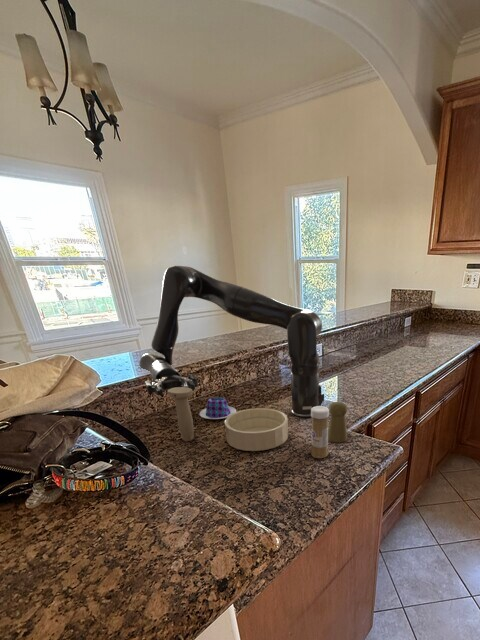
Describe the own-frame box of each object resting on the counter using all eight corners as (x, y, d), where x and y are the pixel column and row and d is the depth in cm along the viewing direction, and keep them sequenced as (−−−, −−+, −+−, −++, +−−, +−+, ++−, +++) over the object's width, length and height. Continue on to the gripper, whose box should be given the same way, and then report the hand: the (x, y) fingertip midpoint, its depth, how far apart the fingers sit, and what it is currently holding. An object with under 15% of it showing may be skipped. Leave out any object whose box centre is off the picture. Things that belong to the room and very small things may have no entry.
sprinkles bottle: (307, 455, 94) (307, 408, 89) (318, 449, 98) (319, 404, 92) (320, 461, 92) (320, 413, 86) (331, 454, 95) (332, 408, 89)
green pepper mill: (349, 435, 106) (351, 400, 101) (344, 443, 101) (345, 408, 96) (330, 432, 108) (331, 398, 103) (324, 440, 102) (324, 405, 98)
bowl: (272, 421, 114) (271, 404, 112) (298, 442, 101) (298, 423, 98) (218, 434, 105) (216, 415, 103) (240, 459, 92) (238, 438, 90)
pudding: (241, 408, 124) (239, 394, 122) (229, 422, 113) (227, 407, 111) (208, 406, 125) (206, 392, 123) (193, 420, 114) (191, 405, 112)
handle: (193, 444, 99) (185, 394, 93) (173, 441, 101) (163, 391, 94) (202, 437, 103) (195, 388, 97) (183, 434, 105) (174, 386, 98)
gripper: (139, 368, 108) (147, 381, 96) (186, 362, 115) (200, 374, 103) (144, 391, 112) (153, 407, 99) (190, 384, 119) (204, 398, 107)
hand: (177, 390), depth 101 cm, fingers open, 8 cm apart
